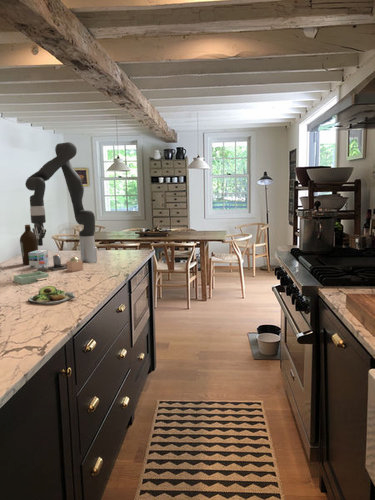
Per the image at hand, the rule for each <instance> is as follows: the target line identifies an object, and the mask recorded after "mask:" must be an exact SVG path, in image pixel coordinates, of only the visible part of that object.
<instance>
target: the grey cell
mask: <svg viewBox="0 0 375 500" xmlns="http://www.w3.org/2000/svg"><path fill="white" fill-rule="evenodd" d="M52 259H53V266H54V268H61V265H62V261H61V255H59V254H55V255H53V257H52Z"/></svg>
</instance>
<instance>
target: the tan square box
mask: <svg viewBox="0 0 375 500" xmlns="http://www.w3.org/2000/svg"><path fill="white" fill-rule="evenodd" d="M83 263H84V262H83V261H82V260H81V259H78V261H75V262H71V259H70V260H66V267H67V269H66V270H67V271H69V272H77V271H78V272H79V271H83V270H84V266H83V265H84V264H83Z"/></svg>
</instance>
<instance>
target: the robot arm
mask: <svg viewBox="0 0 375 500" xmlns="http://www.w3.org/2000/svg"><path fill="white" fill-rule="evenodd" d="M54 148H55V149H54V151H55V157H54V158H52V159H50V160H49V161H47V162H45V163H44V164H43V165H42V167H40V168H39V170H37V171H36V172H35V173H33V174H32V175H30V176H29V177H27V179H26V181H25V188H26V189H27V190H28V191H33V194H32V195H30V197H29V205H30V206H29V207H30V209H29V211H30V223H31V224H33V228H31V231H32V232H33V233H34V235H35V238H37V241H38V247H41V246H43V245H44V244H43V239H45V236H46V234H47V233H46V232H47V229H46V228H45V226H44V224H45V223H46V210H45V203H44V197H45V192H46V181H49V180H50V179H51V178H52V177H53V176H54V175H55V173H56V172H57V171H58V170H59V169H60V168H61V170H62V174H63V176H64V177H63V178H64V179H65V184H66V187H67V190H68V191H67V192H68V193H69V196H70V200H71V203H72V208H73V213H74V219H75V222H76V223H77V224H78V225H79V226H80V225H81V226H83V227H82V228H83V229H81V230H80V231H79V233H78V235H79V238H78V239H79V251H80V260H82V261H83V263H85V264H87V263H89V264H90V263H91V264H95V263H97V262H98V255H97V254H98V251H97V247H96V244H95V243H96V242H95V240H96V239H95V233H96V216H95V213H94V212H93V211H92V210H85V209H84V205H83V197H84V191H85V189H84V184H83V181H82V178H81V176H80V175H79V174H78V173H77V171H76V170H75V169H74V168H73V166H72V163H71V162H70V160H72V159H73V158H74V157H75V156H76V155H77V147H76V145H75V144H74V143H73V142H69V141H67V142H60V143H57V144H56V145H55V147H54Z"/></svg>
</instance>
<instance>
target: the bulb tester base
mask: <svg viewBox="0 0 375 500" xmlns="http://www.w3.org/2000/svg"><path fill="white" fill-rule="evenodd" d="M36 269H37V270H32V271H31V273H32V272H38V271H41V272H45V273H51V272H52V273H53V272H57V271H62V270H63V271H64V270H67V265H62V264H61V268H54V265H53V266H48V267H47V266H45V267H42V268H36Z"/></svg>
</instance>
